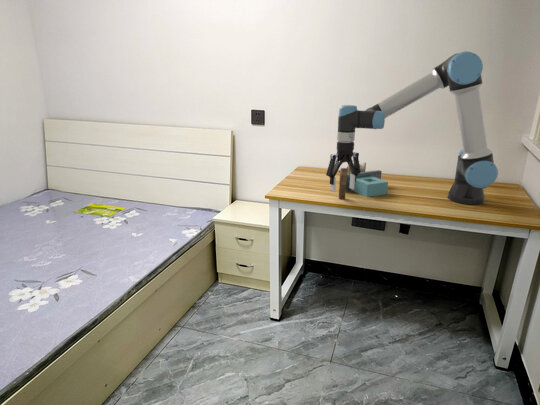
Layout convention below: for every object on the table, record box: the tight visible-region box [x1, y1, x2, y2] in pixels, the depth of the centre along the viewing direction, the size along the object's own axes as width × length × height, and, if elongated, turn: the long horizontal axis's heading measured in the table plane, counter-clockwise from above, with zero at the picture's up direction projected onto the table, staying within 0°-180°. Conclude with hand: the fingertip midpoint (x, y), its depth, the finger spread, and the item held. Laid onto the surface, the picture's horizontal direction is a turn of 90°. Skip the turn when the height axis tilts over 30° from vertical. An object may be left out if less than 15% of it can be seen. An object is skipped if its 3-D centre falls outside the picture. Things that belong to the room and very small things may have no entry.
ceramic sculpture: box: [337, 162, 367, 174], centre depth 221 cm, size 11×9×15 cm
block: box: [350, 176, 389, 198], centre depth 191 cm, size 12×12×6 cm
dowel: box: [338, 167, 347, 200], centre depth 180 cm, size 3×3×14 cm
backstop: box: [338, 169, 382, 192], centre depth 196 cm, size 2×24×8 cm, turn 115°
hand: (342, 189), depth 181 cm, fingers open, 10 cm apart
